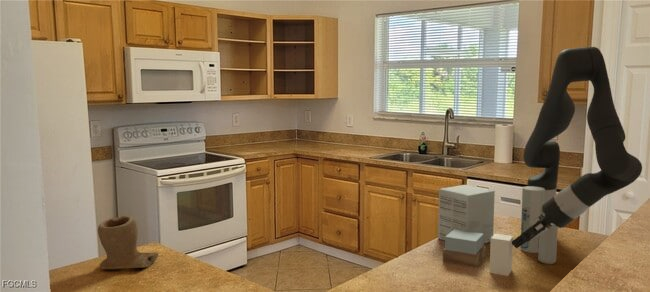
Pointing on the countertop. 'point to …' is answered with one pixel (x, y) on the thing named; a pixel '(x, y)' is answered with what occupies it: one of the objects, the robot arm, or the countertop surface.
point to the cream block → (501, 254)
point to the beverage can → (548, 245)
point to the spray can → (531, 214)
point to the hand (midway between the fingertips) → (518, 241)
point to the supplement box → (466, 211)
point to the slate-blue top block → (464, 241)
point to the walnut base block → (464, 257)
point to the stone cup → (122, 245)
